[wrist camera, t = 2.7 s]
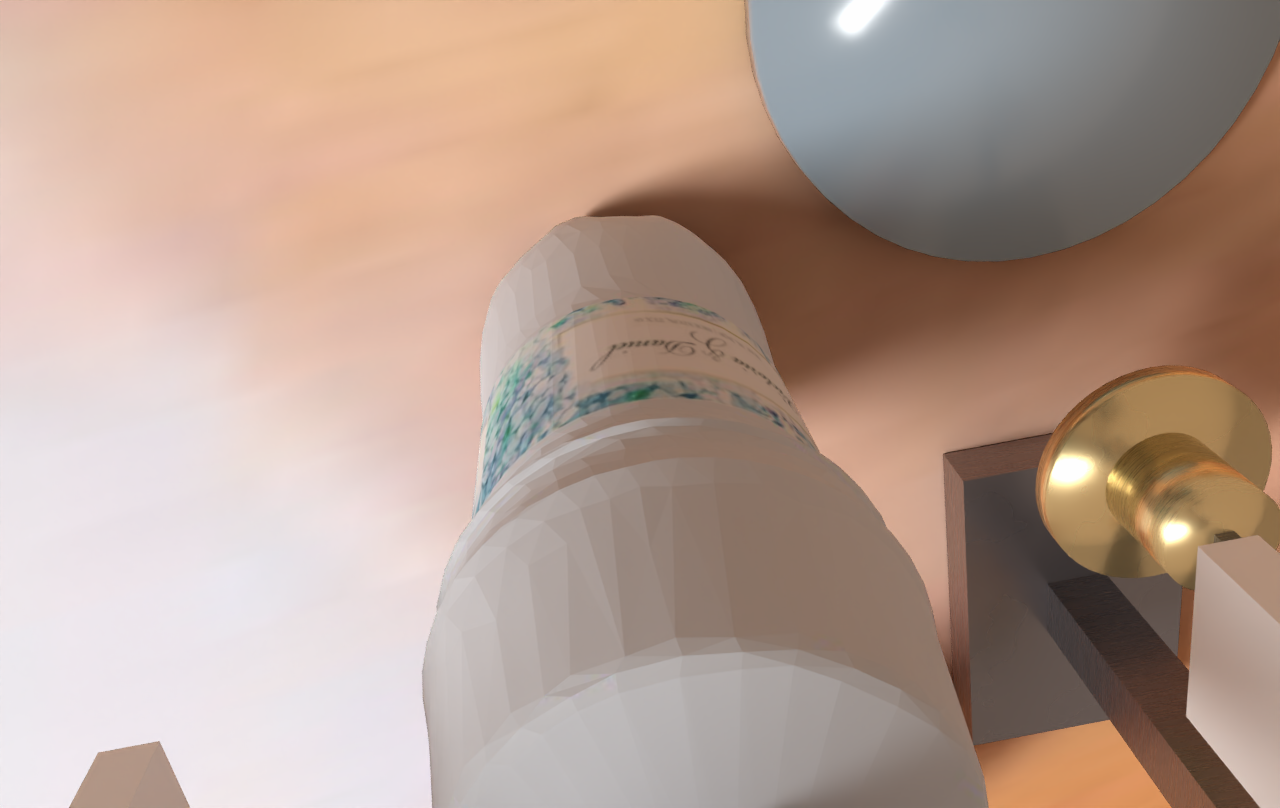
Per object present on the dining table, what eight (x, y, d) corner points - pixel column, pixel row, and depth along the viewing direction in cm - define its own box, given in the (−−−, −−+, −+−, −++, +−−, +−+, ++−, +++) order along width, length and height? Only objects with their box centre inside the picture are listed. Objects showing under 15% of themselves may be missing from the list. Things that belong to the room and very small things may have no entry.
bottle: (796, 244, 26) (1398, 1034, 8) (683, 473, 28) (944, 1483, 10) (534, 139, 24) (527, 826, 6) (439, 391, 27) (234, 1416, 9)
